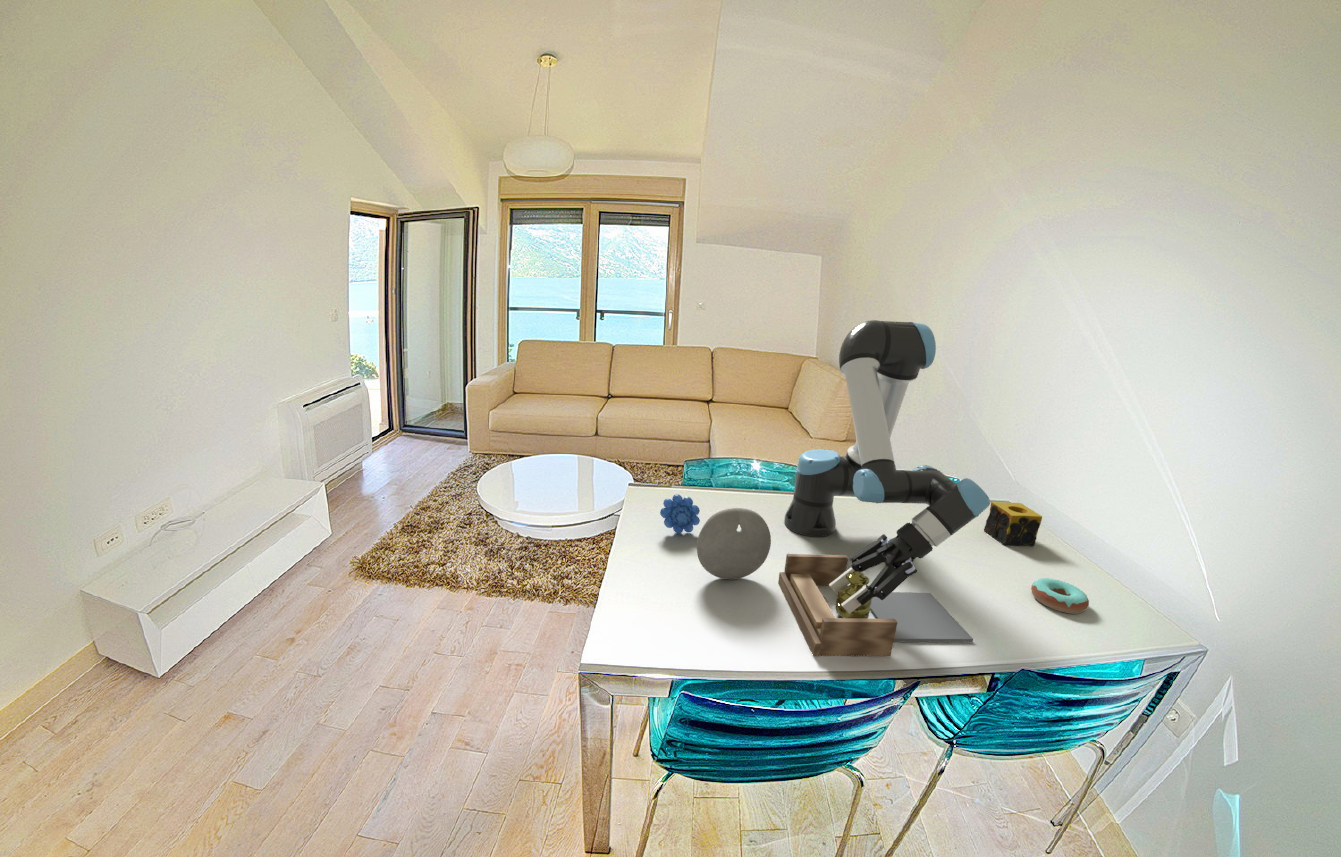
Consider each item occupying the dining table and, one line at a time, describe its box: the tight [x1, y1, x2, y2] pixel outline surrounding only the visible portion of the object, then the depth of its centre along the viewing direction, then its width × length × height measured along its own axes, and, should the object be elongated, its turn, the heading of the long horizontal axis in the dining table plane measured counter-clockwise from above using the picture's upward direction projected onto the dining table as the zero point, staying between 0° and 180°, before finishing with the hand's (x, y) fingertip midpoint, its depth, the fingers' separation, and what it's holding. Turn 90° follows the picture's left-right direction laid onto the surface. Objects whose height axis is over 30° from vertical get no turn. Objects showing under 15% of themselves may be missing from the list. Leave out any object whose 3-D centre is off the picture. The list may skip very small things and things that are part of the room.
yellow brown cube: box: [983, 501, 1043, 547], centre depth 174 cm, size 10×10×10 cm
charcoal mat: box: [870, 591, 974, 643], centre depth 131 cm, size 18×18×1 cm
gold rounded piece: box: [834, 571, 872, 619], centre depth 128 cm, size 7×8×10 cm
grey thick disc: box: [696, 507, 772, 580], centre depth 140 cm, size 18×7×19 cm, turn 100°
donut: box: [1030, 577, 1090, 614], centre depth 141 cm, size 12×12×4 cm
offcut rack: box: [777, 553, 897, 657], centre depth 128 cm, size 16×27×8 cm, turn 5°
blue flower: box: [659, 493, 701, 534], centre depth 162 cm, size 12×7×12 cm, turn 100°
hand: (838, 598), depth 128 cm, fingers closed on gold rounded piece, 7 cm apart
